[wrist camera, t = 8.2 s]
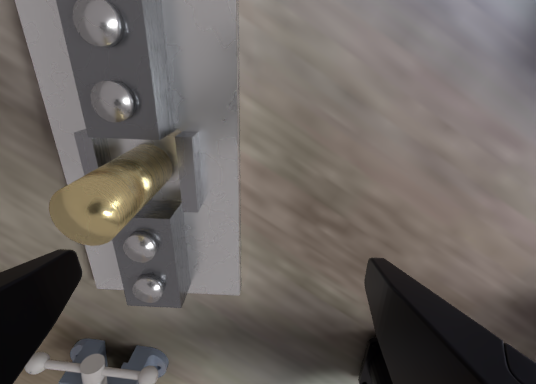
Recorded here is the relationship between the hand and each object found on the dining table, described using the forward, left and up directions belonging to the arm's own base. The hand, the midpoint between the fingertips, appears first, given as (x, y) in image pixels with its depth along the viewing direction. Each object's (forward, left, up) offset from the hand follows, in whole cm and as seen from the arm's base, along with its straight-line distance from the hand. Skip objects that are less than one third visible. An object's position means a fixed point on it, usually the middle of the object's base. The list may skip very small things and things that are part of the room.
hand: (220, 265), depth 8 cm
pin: (-1, +7, -11) cm, 13 cm away
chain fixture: (-1, +7, -12) cm, 14 cm away
